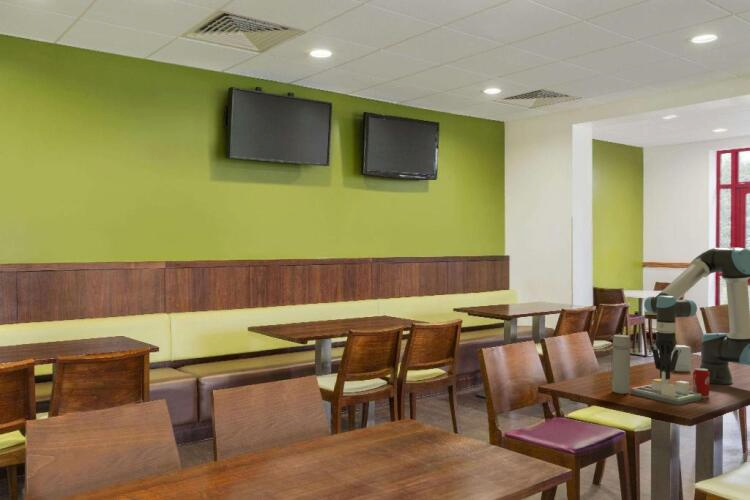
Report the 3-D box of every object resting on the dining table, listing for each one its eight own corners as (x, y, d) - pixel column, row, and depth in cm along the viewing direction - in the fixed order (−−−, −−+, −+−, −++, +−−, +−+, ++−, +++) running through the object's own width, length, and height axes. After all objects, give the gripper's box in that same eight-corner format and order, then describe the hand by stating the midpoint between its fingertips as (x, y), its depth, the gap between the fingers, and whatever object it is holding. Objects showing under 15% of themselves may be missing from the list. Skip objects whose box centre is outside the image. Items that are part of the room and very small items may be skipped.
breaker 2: (680, 392, 282) (680, 380, 282) (689, 394, 278) (689, 382, 278) (675, 393, 279) (675, 381, 279) (684, 395, 276) (684, 383, 276)
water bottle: (630, 391, 289) (631, 335, 288) (629, 395, 282) (630, 337, 281) (608, 389, 293) (609, 333, 292) (606, 392, 285) (607, 336, 285)
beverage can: (710, 398, 277) (711, 370, 277) (695, 397, 278) (695, 370, 278) (706, 395, 283) (707, 367, 283) (690, 394, 284) (691, 367, 284)
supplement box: (690, 371, 336) (691, 347, 335) (676, 371, 336) (677, 347, 335) (684, 368, 343) (684, 344, 343) (670, 368, 343) (670, 344, 343)
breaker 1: (666, 395, 276) (666, 383, 276) (675, 397, 272) (675, 385, 272) (661, 396, 273) (661, 384, 273) (670, 398, 270) (670, 386, 270)
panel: (653, 389, 293) (653, 383, 293) (701, 399, 275) (701, 393, 275) (630, 393, 284) (630, 388, 284) (678, 404, 266) (678, 398, 266)
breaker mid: (657, 390, 285) (657, 378, 285) (665, 391, 282) (665, 380, 282) (652, 391, 283) (652, 379, 283) (660, 393, 279) (660, 381, 279)
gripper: (646, 330, 283) (645, 384, 283) (675, 334, 272) (674, 390, 272) (656, 329, 287) (655, 382, 287) (685, 333, 276) (684, 388, 277)
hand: (664, 386), depth 280 cm, fingers closed
